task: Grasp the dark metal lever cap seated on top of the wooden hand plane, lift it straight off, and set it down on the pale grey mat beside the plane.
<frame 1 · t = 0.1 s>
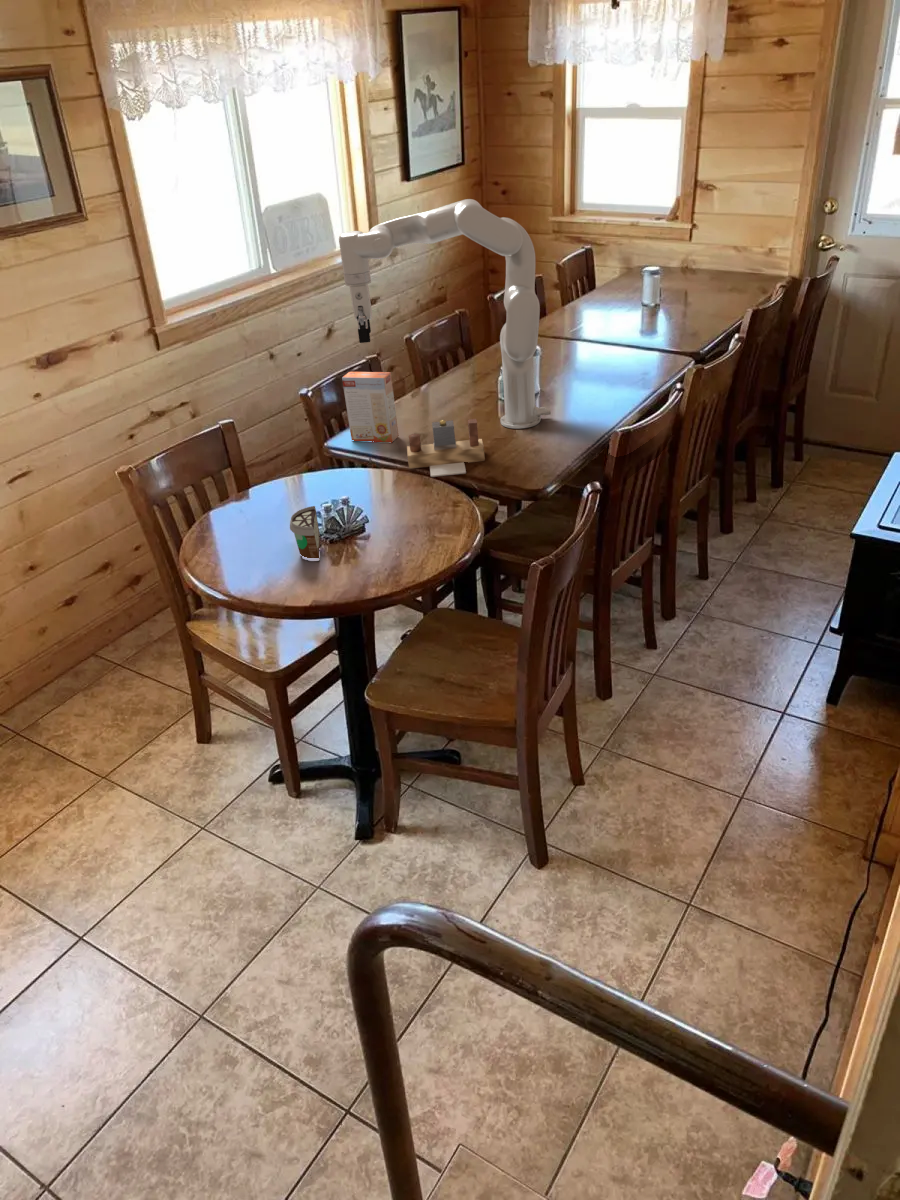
hand: (365, 337, 266), 31 cm above the table, tool pointing down, fingers open, 9 cm apart
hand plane: (446, 459, 262), on the table
cracker box: (375, 440, 281), on the table
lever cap: (444, 442, 259), point 5 cm above the table, touching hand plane
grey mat: (447, 470, 256), on the table
lidded drink cup: (308, 554, 220), on the table
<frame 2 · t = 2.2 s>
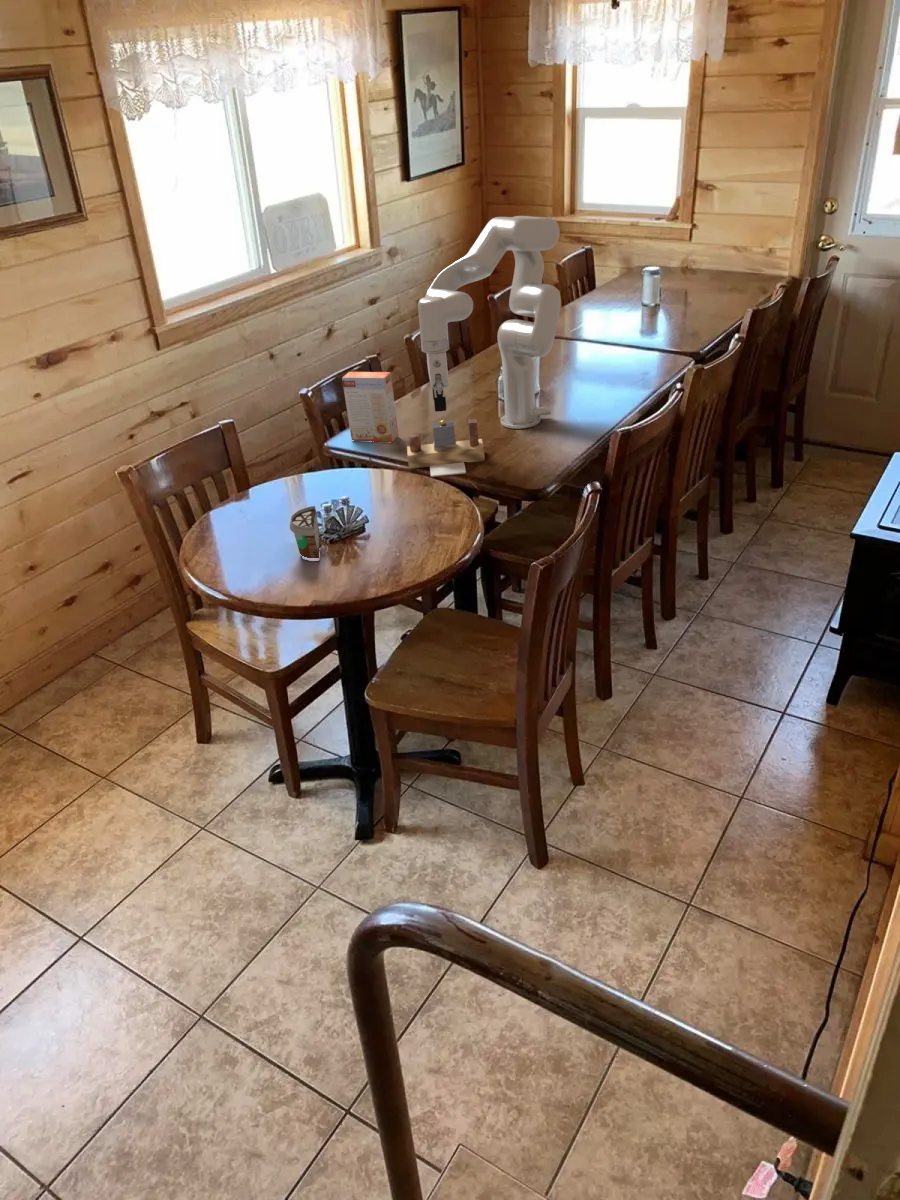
hand: (439, 405, 253), 17 cm above the table, tool pointing down, fingers open, 9 cm apart
nothing on the table moved.
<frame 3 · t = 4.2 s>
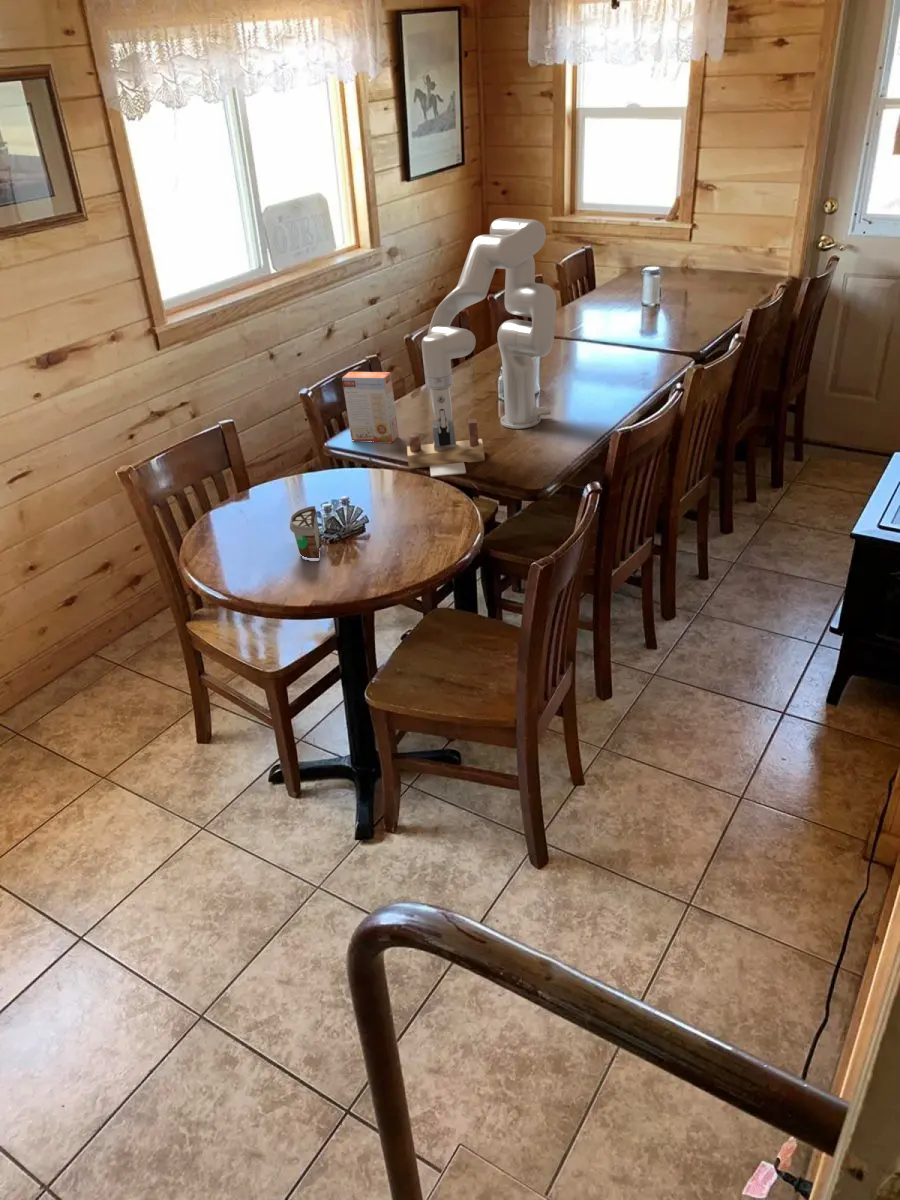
hand: (444, 441, 259), 6 cm above the table, tool pointing down, fingers closed on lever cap, 4 cm apart
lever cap: (444, 442, 259), point 5 cm above the table, touching gripper, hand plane
everything else where it was.
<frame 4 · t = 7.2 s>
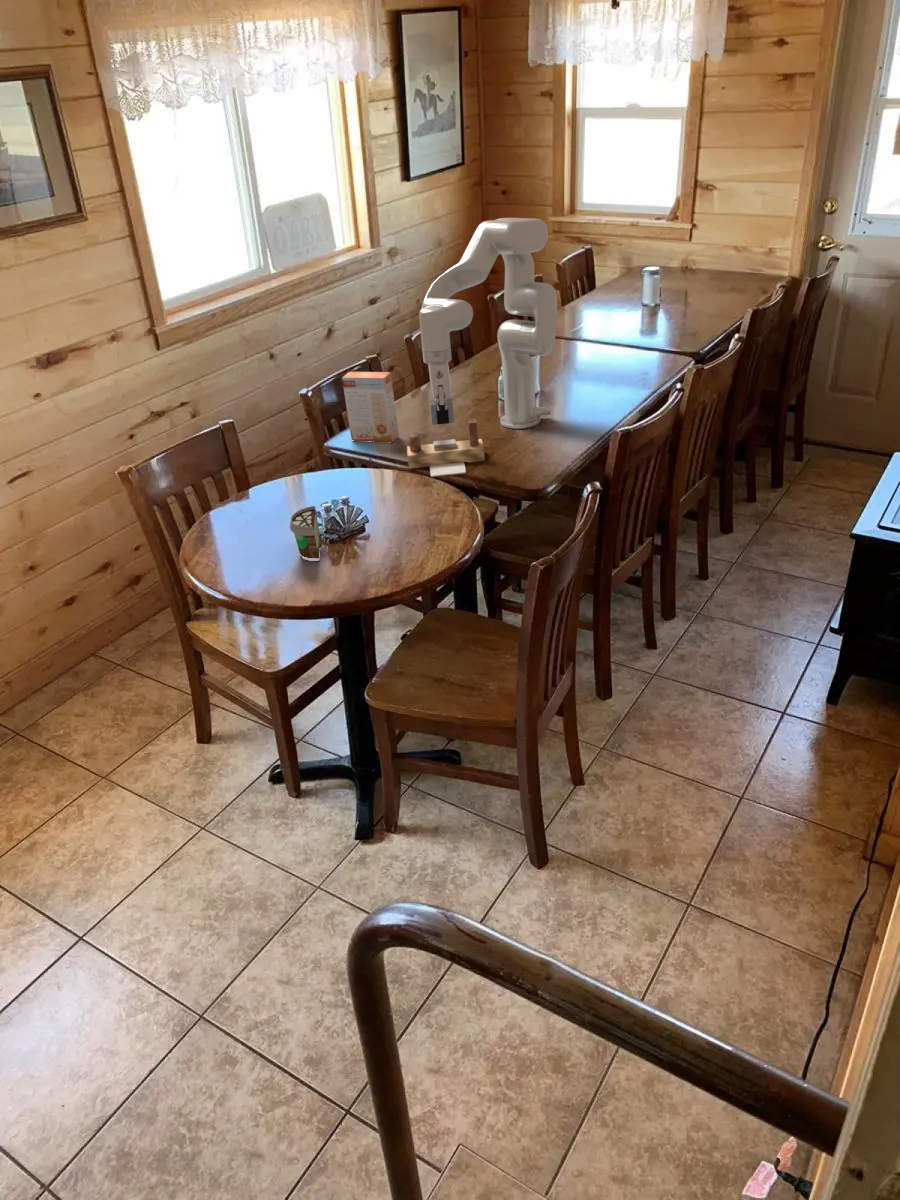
hand: (442, 419, 248), 15 cm above the table, tool pointing down, fingers closed on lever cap, 4 cm apart
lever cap: (442, 420, 248), point 15 cm above the table, touching gripper
everything else where it was.
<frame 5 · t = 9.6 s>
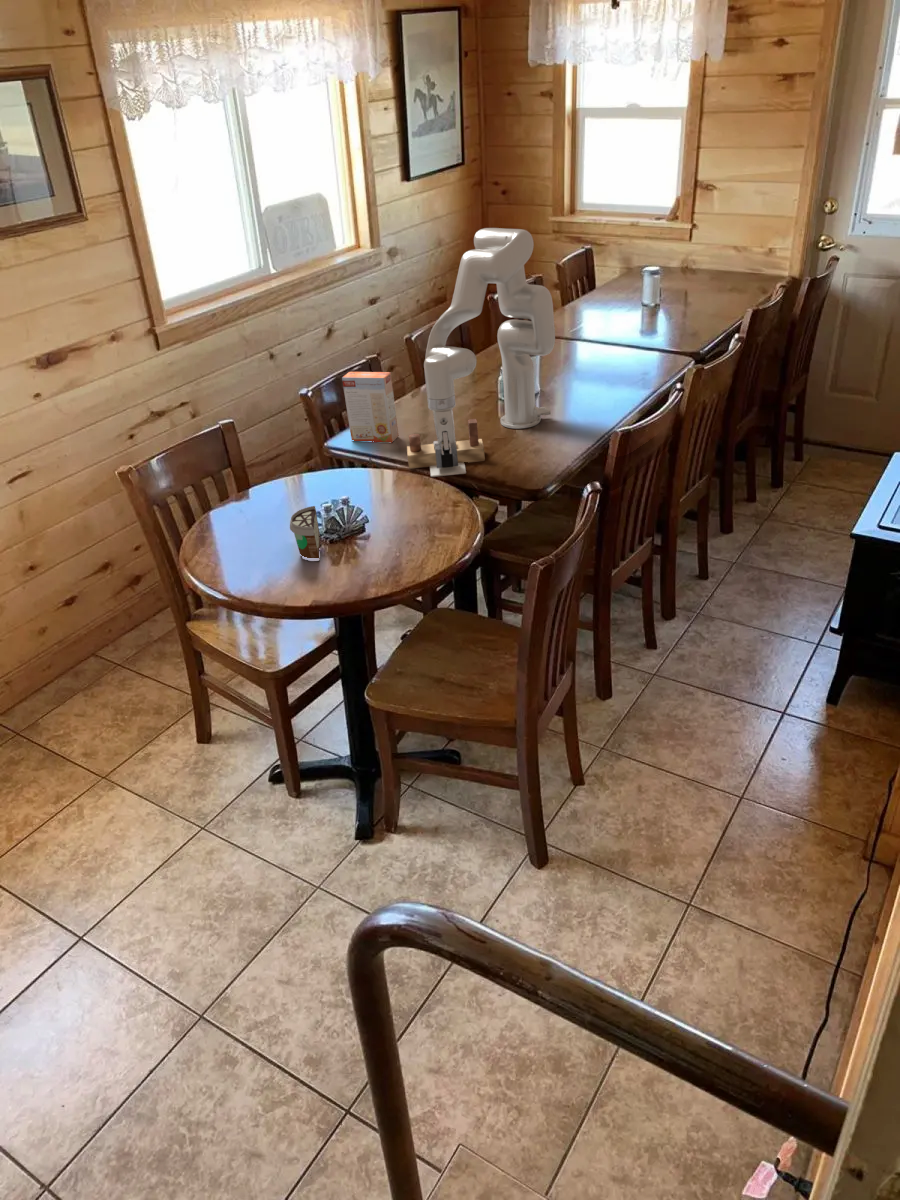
hand: (447, 462, 255), 2 cm above the table, tool pointing down, fingers closed on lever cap, 4 cm apart
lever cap: (447, 463, 255), point 2 cm above the table, touching gripper
everything else where it was.
when the fingers open (2 cm above the table, at t = 10.1 s): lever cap drops 2 cm, resting on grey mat.
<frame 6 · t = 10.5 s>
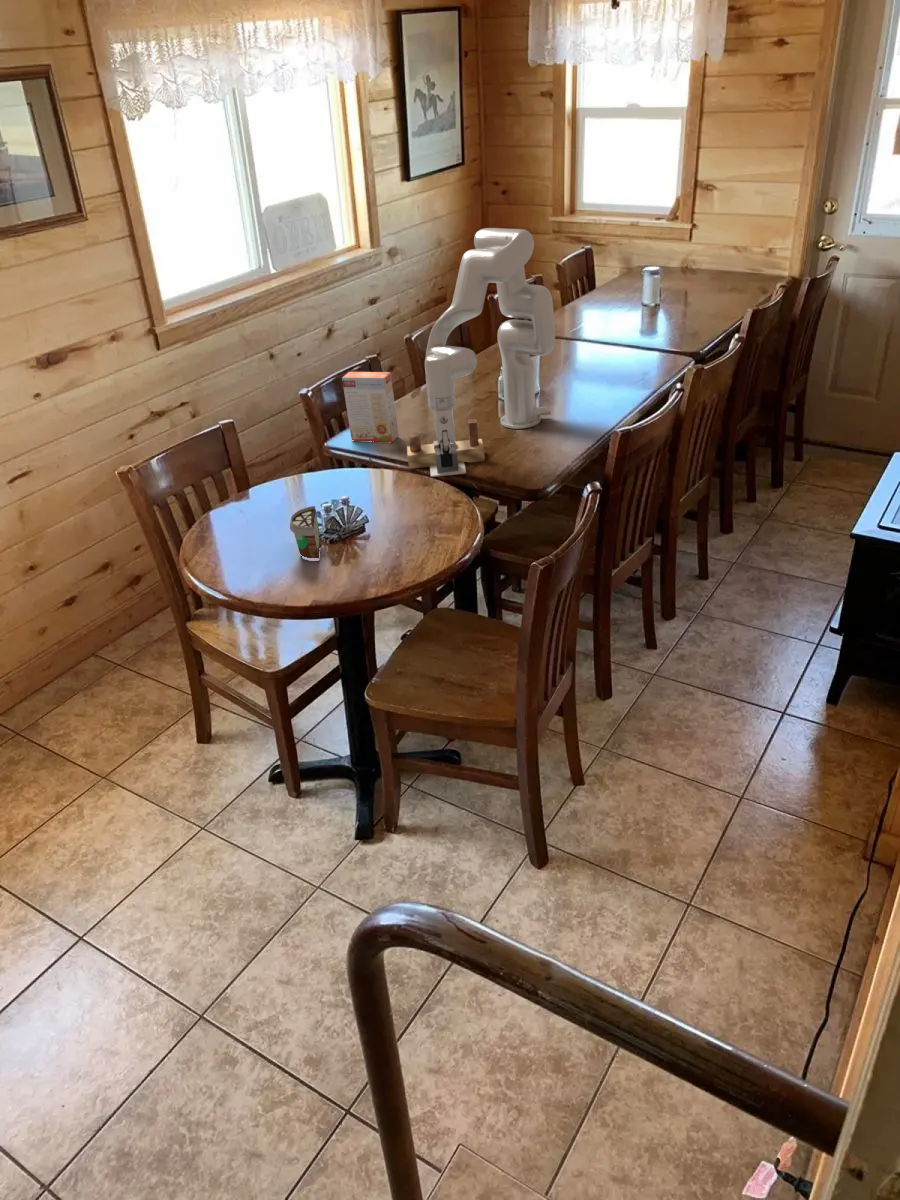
hand: (446, 460, 253), 3 cm above the table, tool pointing down, fingers open, 7 cm apart
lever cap: (447, 468, 256), resting on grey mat
everything else where it was.
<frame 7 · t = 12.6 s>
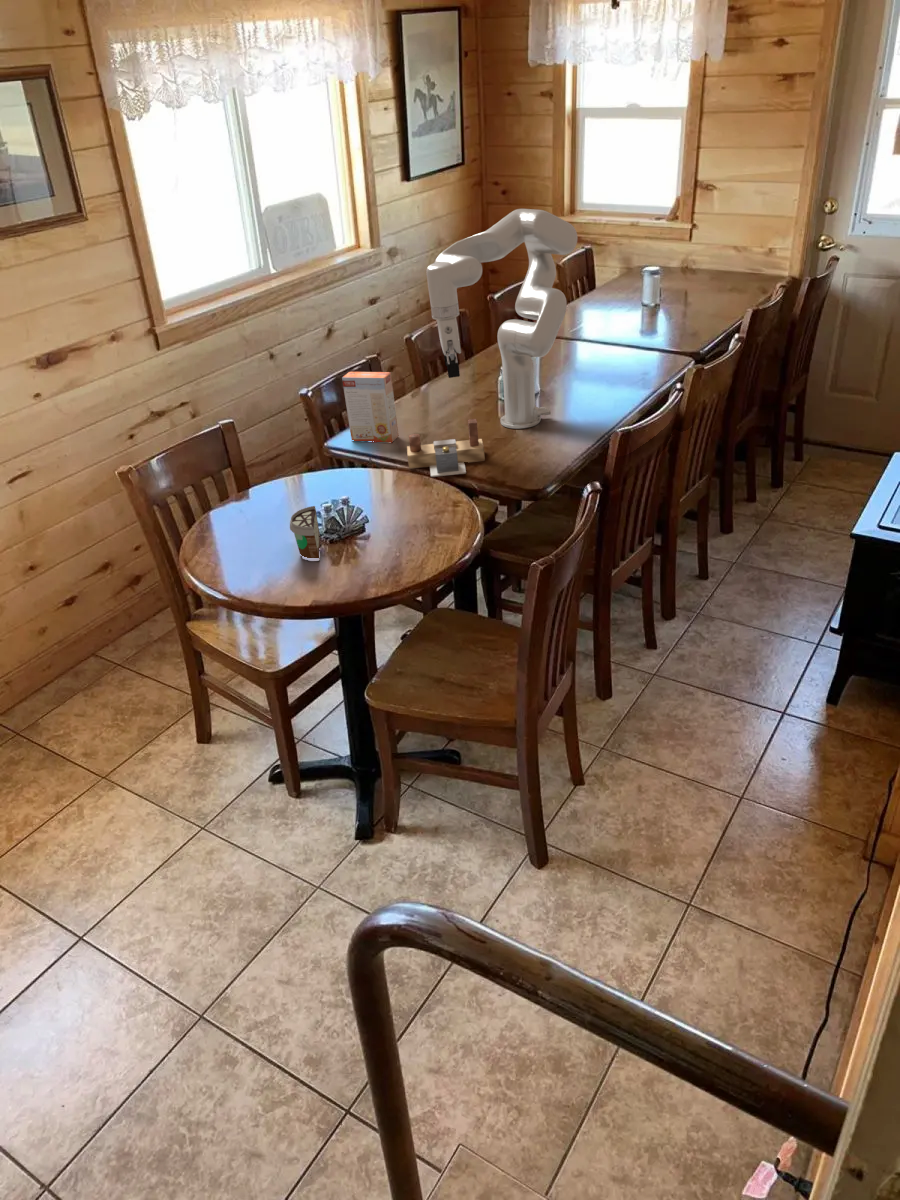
hand: (452, 371, 254), 24 cm above the table, tool pointing down, fingers open, 9 cm apart
nothing on the table moved.
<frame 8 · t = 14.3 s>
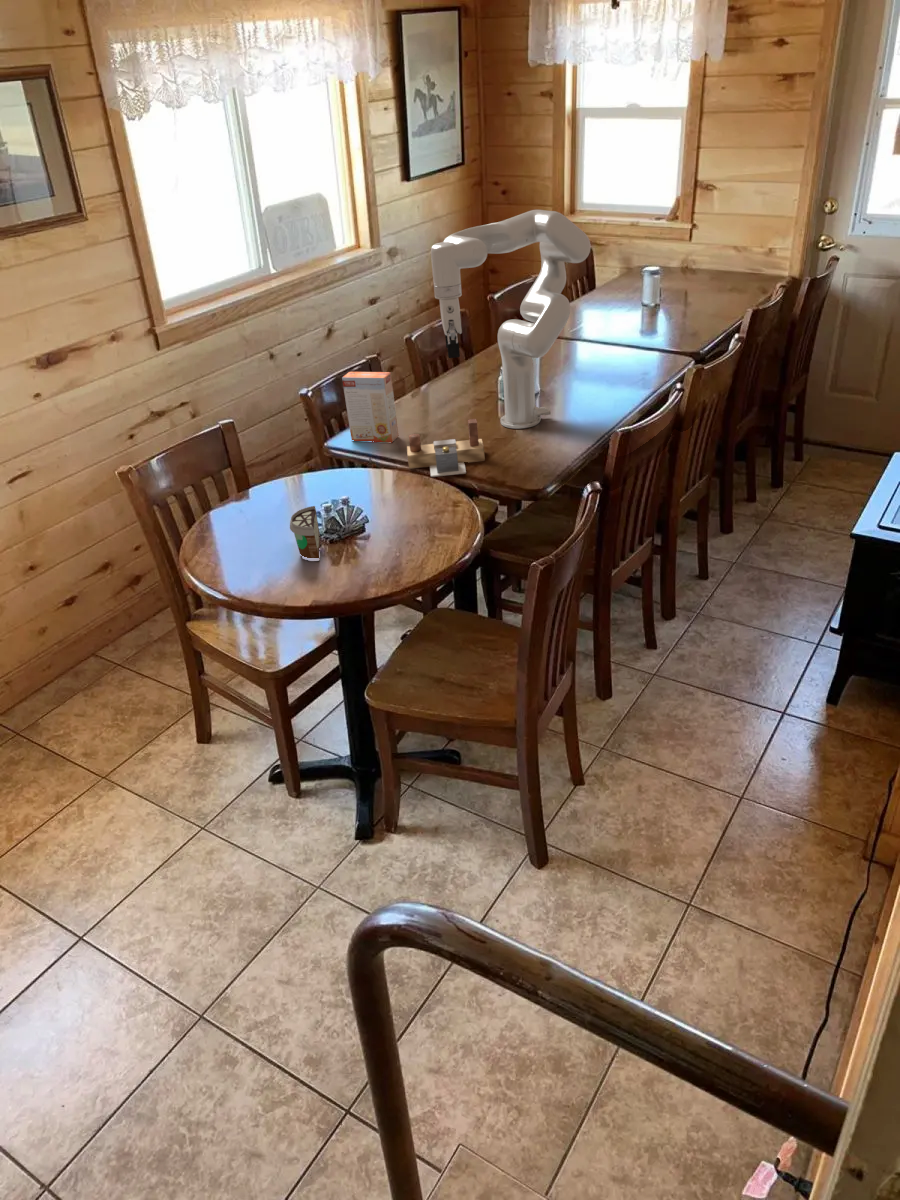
hand: (452, 352, 256), 28 cm above the table, tool pointing down, fingers open, 9 cm apart
nothing on the table moved.
at the end: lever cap inside the target area on the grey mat (0.0 cm from its centre), point 0.4 cm above the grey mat's base; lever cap tilted 0°; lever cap touching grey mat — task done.
